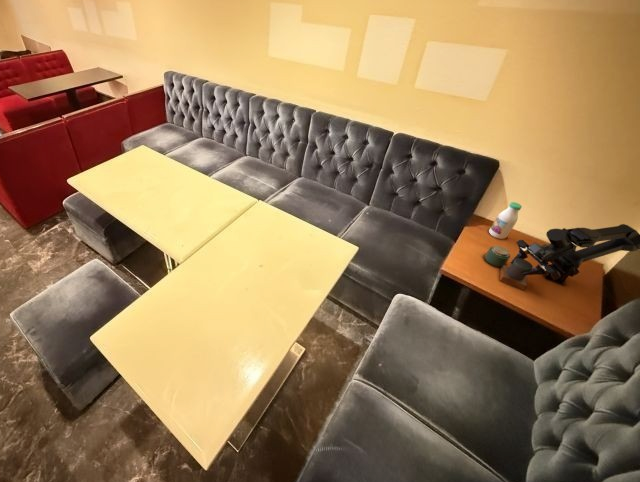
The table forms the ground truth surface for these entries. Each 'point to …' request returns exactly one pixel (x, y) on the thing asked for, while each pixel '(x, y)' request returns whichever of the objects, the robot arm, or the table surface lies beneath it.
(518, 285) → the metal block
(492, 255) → the green cylinder
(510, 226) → the milk bottle
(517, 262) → the cap
